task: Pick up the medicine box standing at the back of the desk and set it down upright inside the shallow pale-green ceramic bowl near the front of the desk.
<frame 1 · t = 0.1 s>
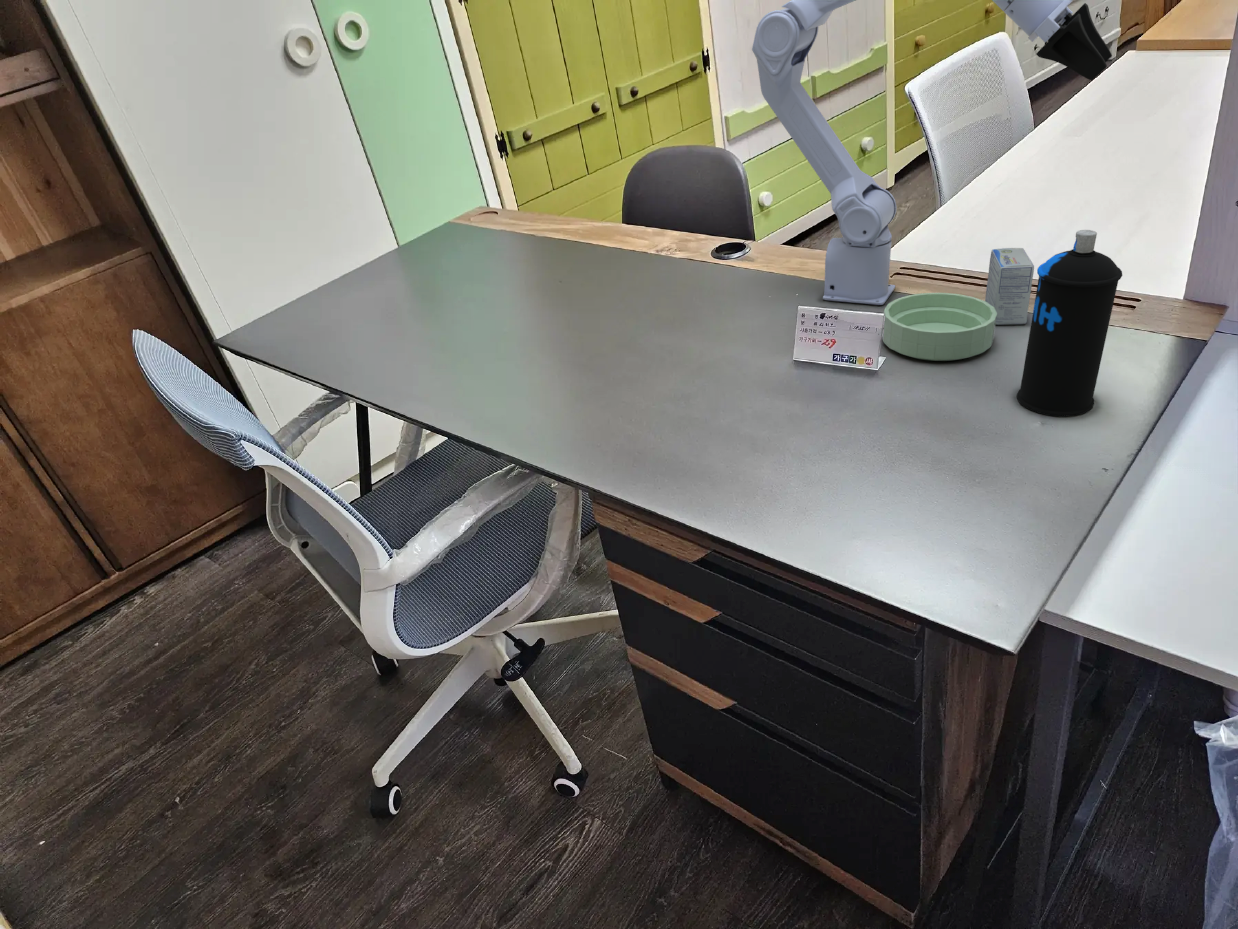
hand: (1102, 67, 104), 32 cm above the table, tool tilted 50°, fingers open, 7 cm apart
bowl: (936, 342, 116), on the table
medicine box: (1004, 316, 122), on the table
aerosol can: (1054, 401, 100), on the table
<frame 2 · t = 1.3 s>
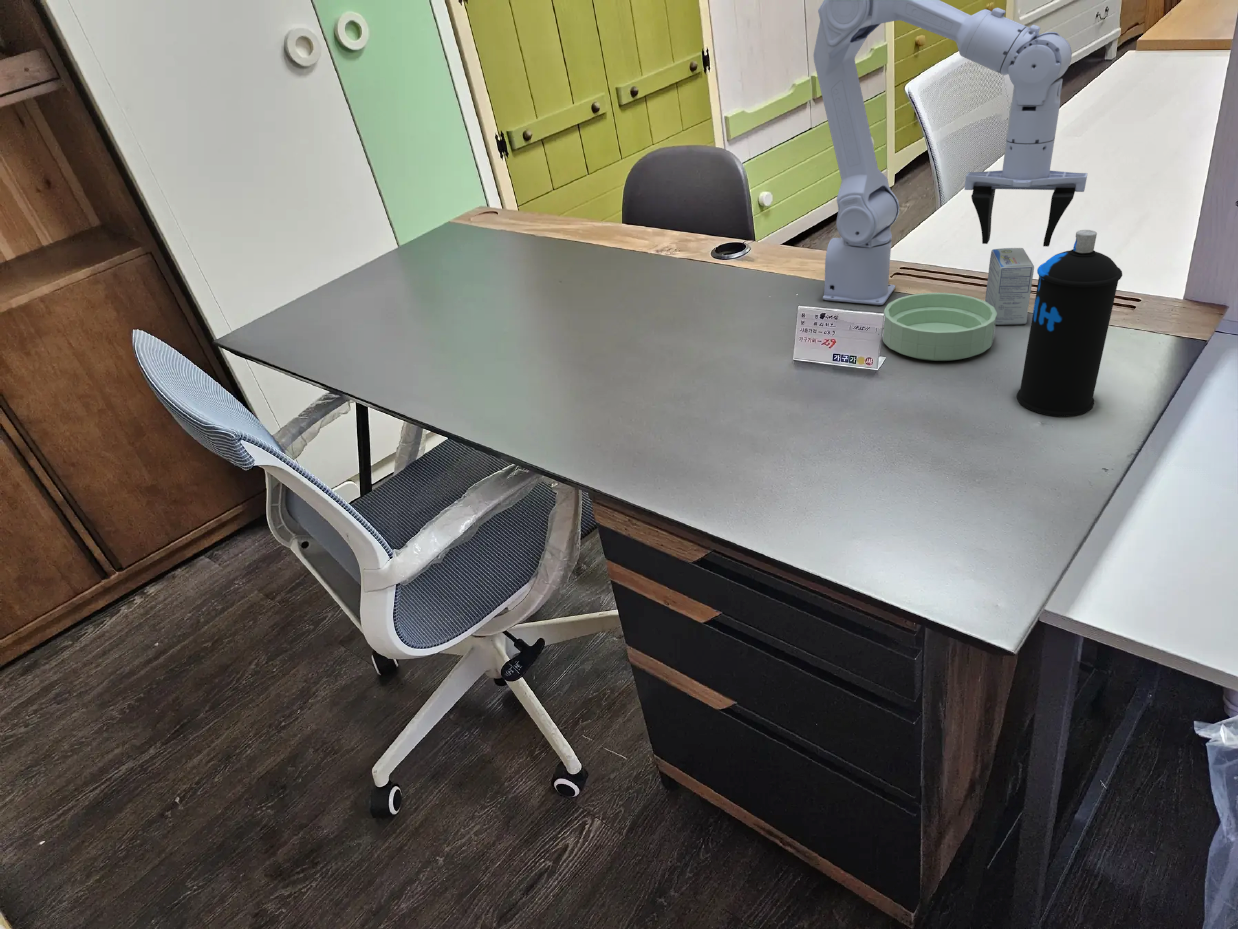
hand: (1015, 242, 116), 11 cm above the table, tool pointing down, fingers open, 7 cm apart
nothing on the table moved.
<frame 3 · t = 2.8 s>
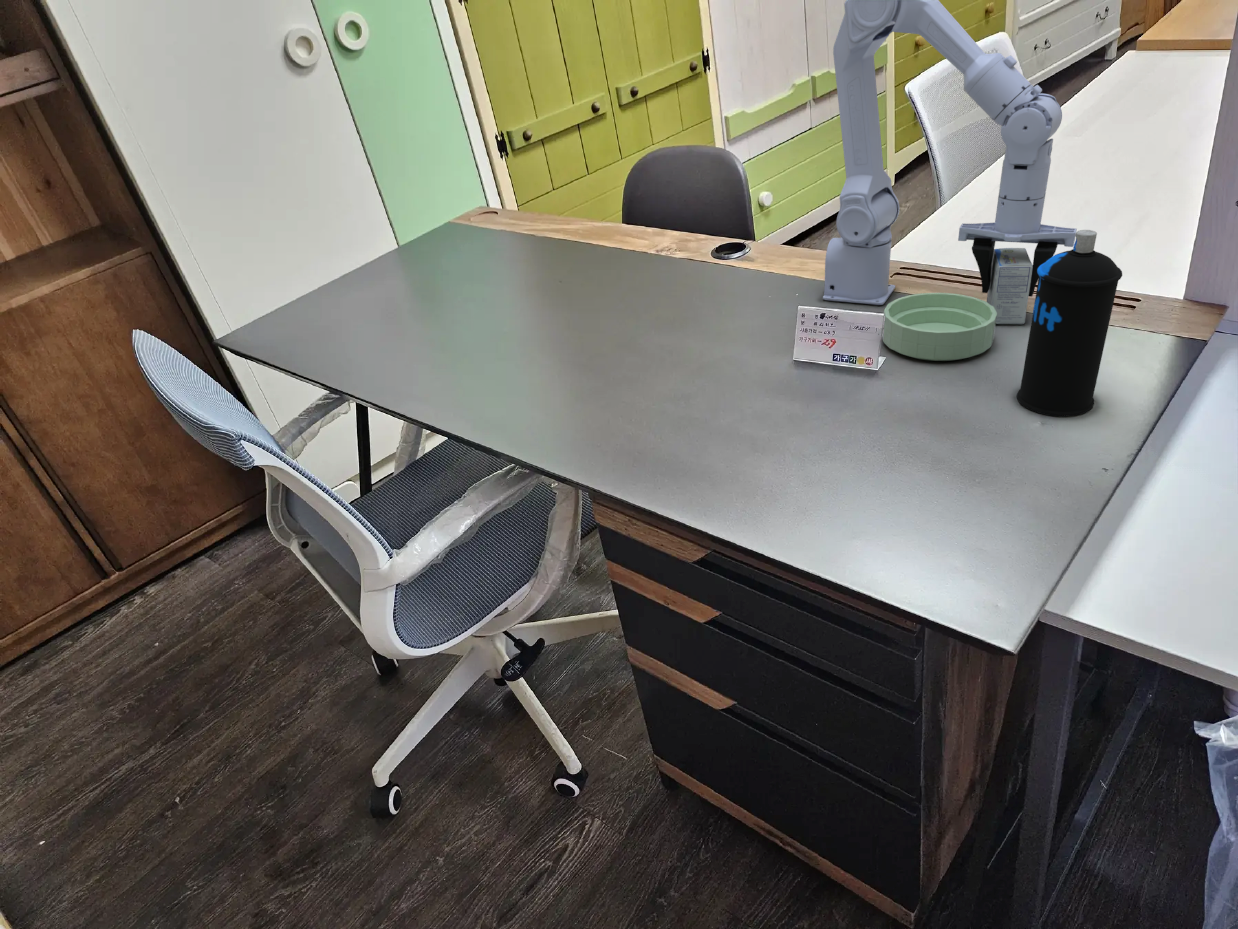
hand: (1007, 292, 120), 3 cm above the table, tool pointing down, fingers closed on medicine box, 5 cm apart
medicine box: (1004, 316, 122), on the table, touching gripper
everything else where it was.
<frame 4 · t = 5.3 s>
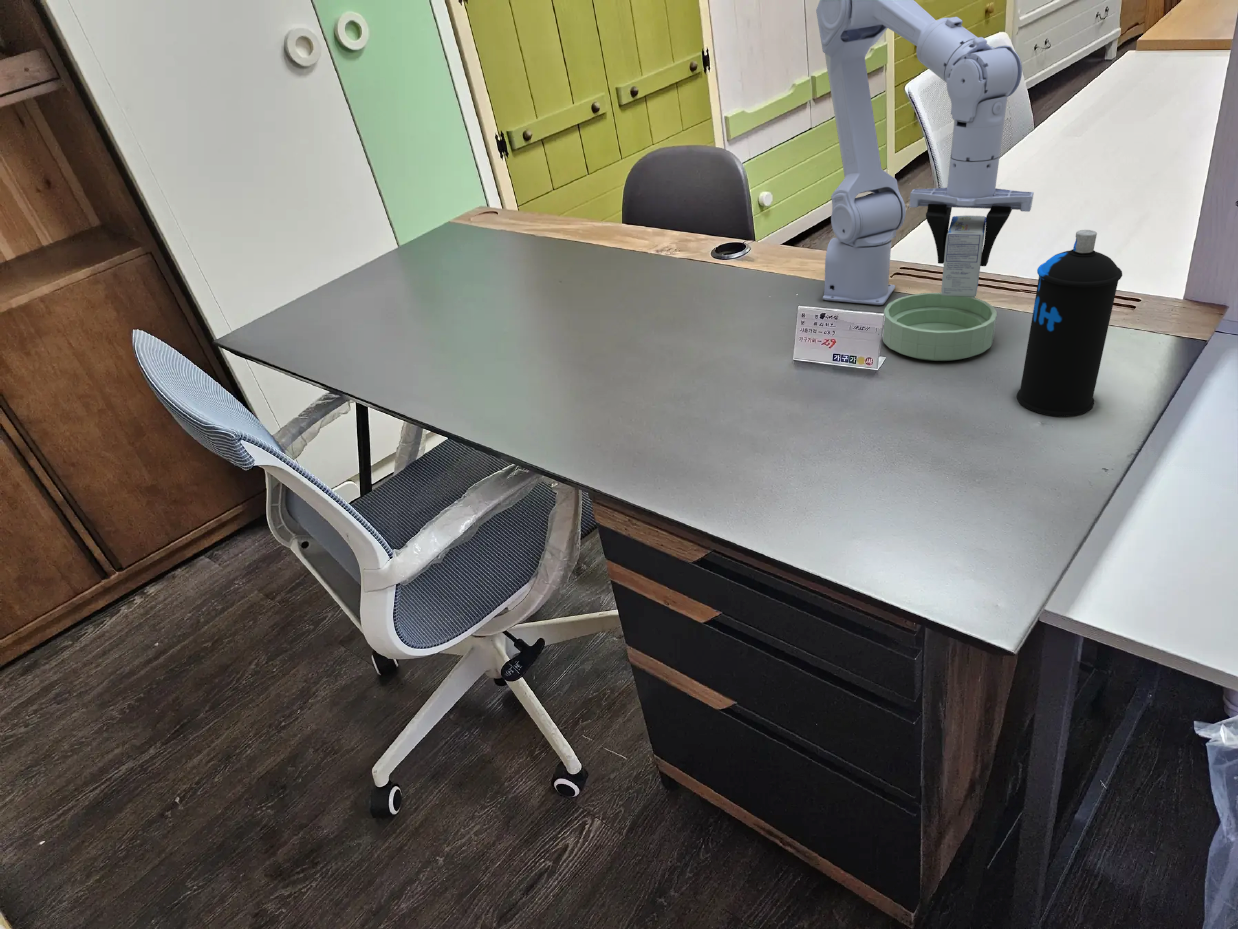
hand: (962, 262, 112), 10 cm above the table, tool pointing down, fingers closed on medicine box, 5 cm apart
medicine box: (959, 288, 114), point 7 cm above the table, touching gripper
everything else where it was.
when the fingers open (4 cm above the table, at t = 8.0 s): medicine box stays where it is, resting on bowl.
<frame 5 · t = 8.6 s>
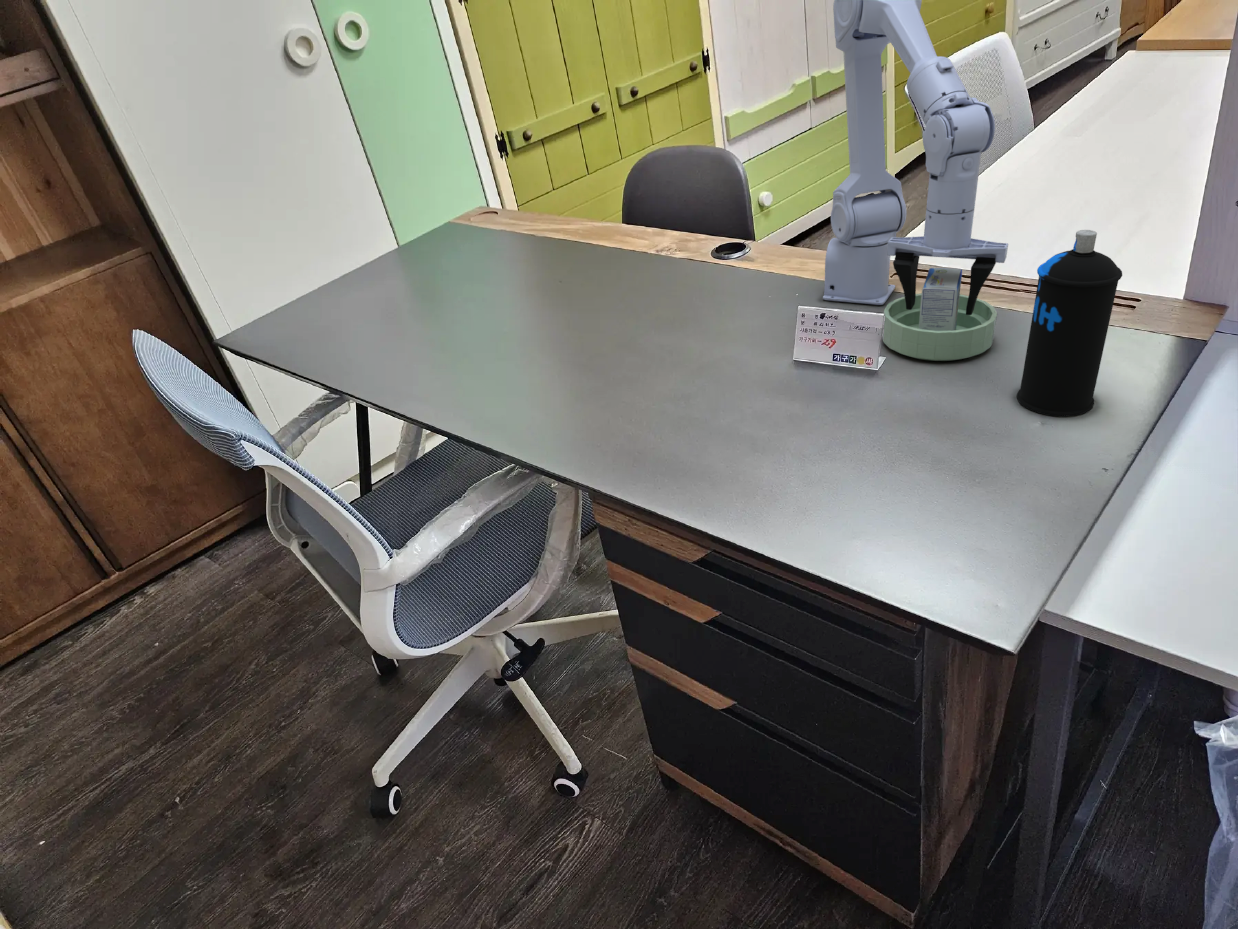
hand: (939, 309, 114), 5 cm above the table, tool pointing down, fingers open, 7 cm apart
medicine box: (936, 339, 116), resting on bowl
everything else where it was.
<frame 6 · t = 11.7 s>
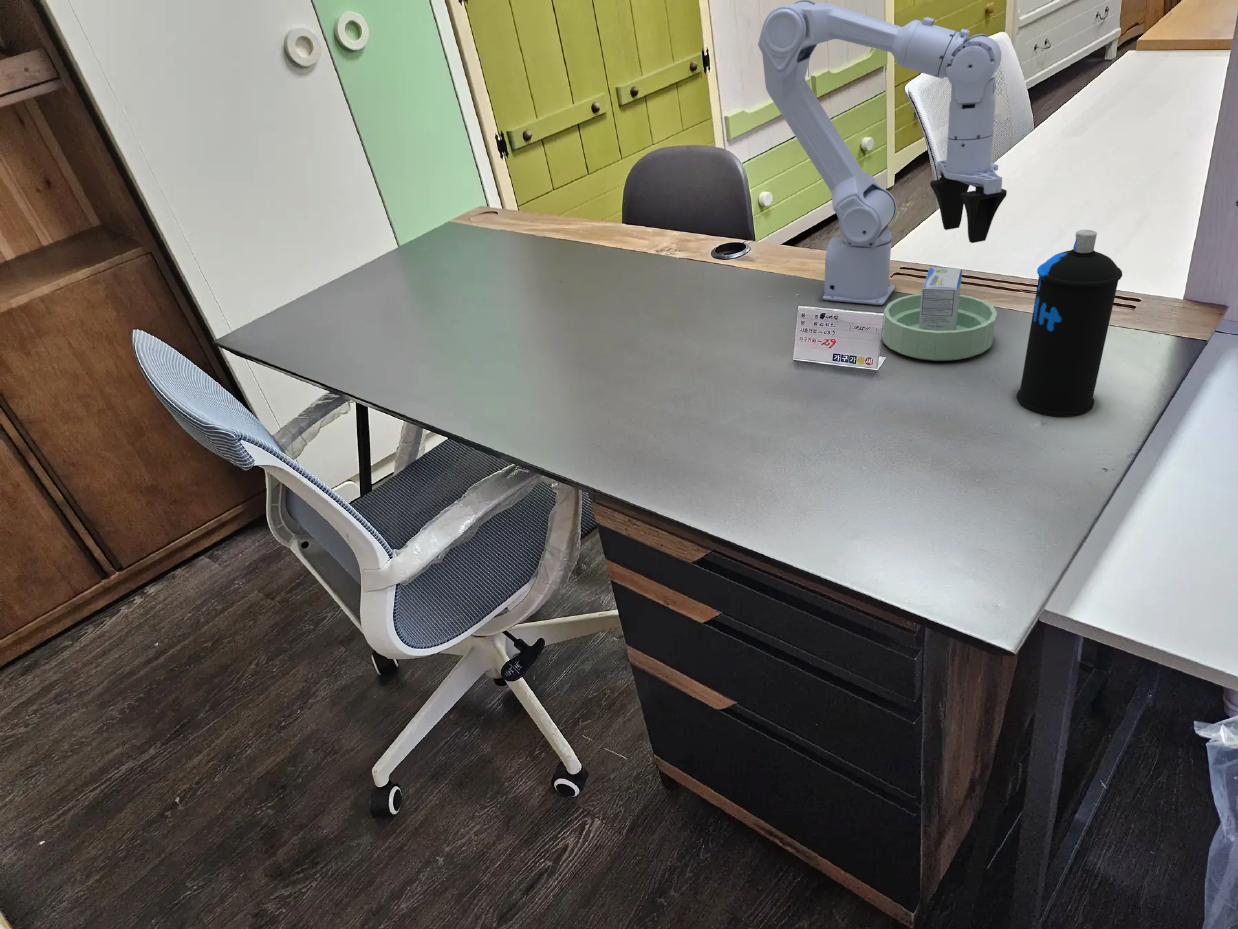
hand: (964, 234, 122), 10 cm above the table, tool pointing down, fingers open, 7 cm apart
nothing on the table moved.
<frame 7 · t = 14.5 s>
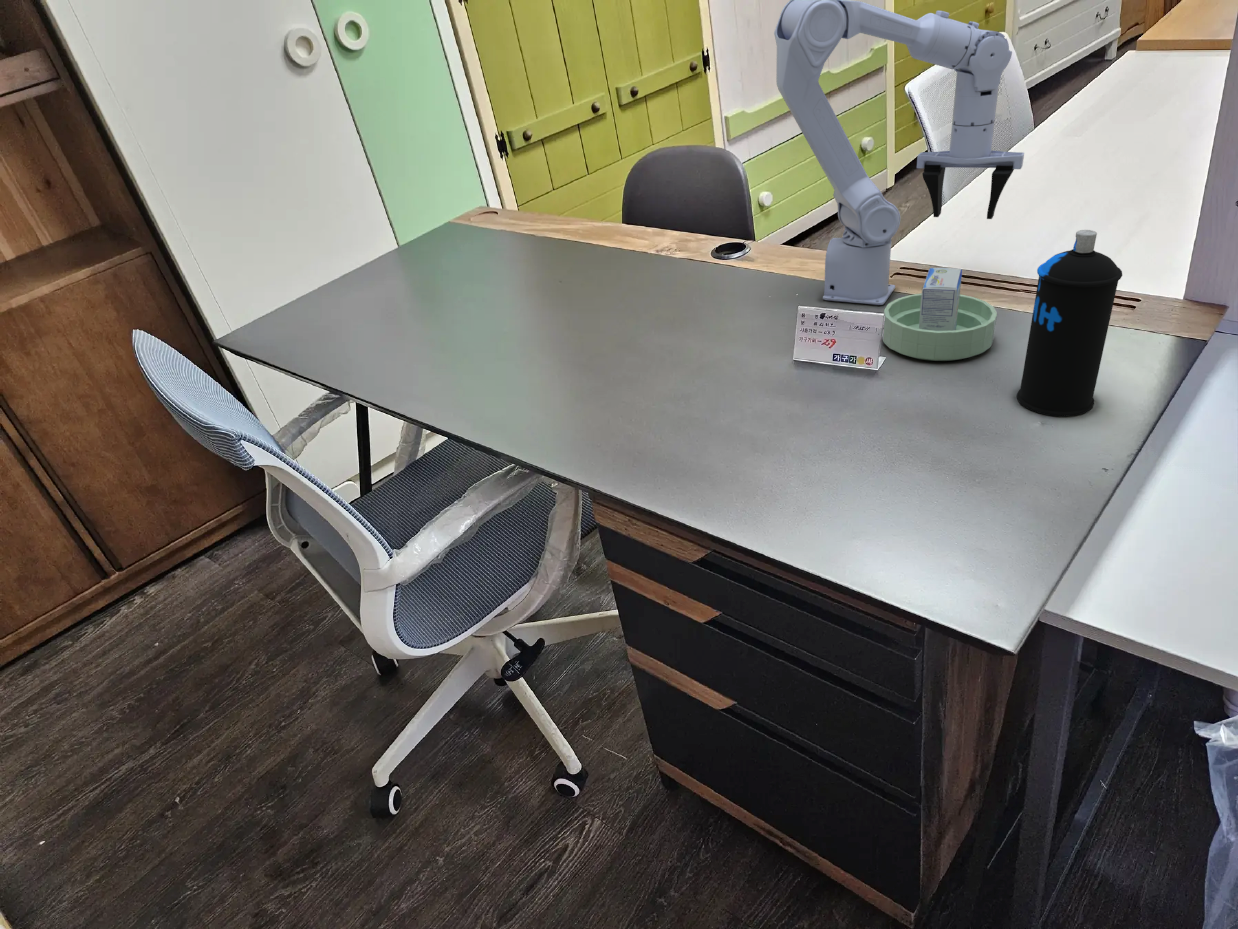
hand: (963, 216, 129), 10 cm above the table, tool pointing down, fingers open, 7 cm apart
nothing on the table moved.
at the end: medicine box inside the target area in the bowl (0.1 cm from its centre), point 0.4 cm above the bowl's base; medicine box tilted 0°; the gripper is holding nothing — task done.
